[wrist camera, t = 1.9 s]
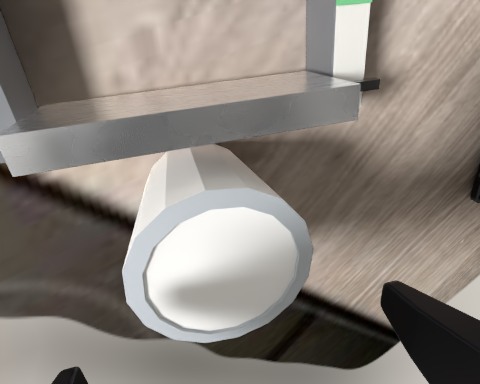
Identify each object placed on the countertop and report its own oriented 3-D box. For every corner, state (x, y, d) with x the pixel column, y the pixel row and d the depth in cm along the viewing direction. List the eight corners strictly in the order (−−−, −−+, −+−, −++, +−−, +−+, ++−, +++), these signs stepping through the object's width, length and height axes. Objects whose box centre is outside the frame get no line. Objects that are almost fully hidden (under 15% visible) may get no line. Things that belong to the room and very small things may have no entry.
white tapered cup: (273, 141, 17) (341, 200, 11) (243, 246, 20) (284, 341, 13) (140, 117, 15) (132, 175, 9) (126, 239, 17) (113, 350, 11)
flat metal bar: (352, 64, 15) (423, 74, 11) (350, 91, 15) (417, 110, 11) (43, 105, 12) (-6, 136, 8) (54, 134, 13) (12, 176, 9)
